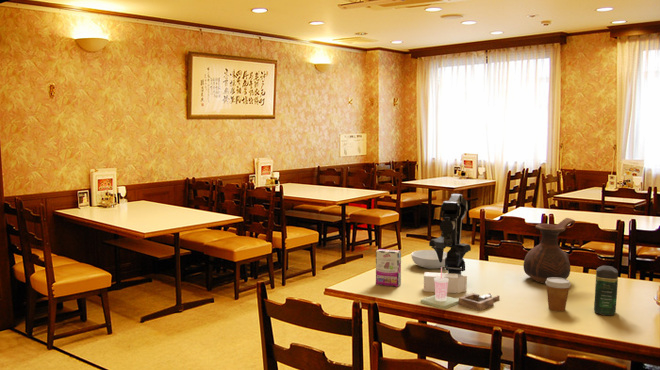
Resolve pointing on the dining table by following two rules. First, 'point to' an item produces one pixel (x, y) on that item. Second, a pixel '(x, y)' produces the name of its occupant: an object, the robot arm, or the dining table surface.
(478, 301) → the key bar
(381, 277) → the candy bar box
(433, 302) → the pale green square pad
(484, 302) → the brown wooden tray
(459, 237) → the robot arm
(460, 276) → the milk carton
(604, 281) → the coffee jar
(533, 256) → the jug
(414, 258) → the serving bowl
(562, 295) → the disposable coffee cup
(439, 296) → the beverage cup
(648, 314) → the dining table surface
